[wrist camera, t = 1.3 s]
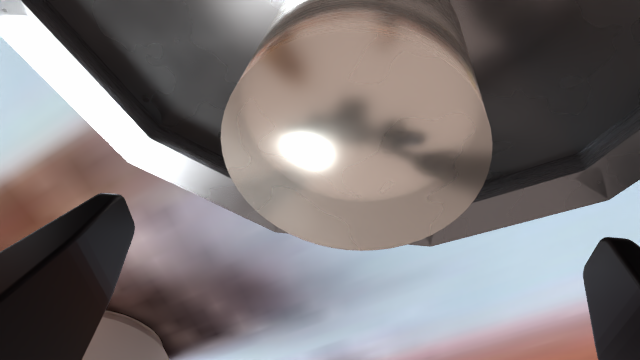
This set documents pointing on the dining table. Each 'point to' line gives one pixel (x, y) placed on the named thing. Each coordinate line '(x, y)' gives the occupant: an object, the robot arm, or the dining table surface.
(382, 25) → the cover
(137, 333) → the can
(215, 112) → the curvy grey metal tray
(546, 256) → the dining table surface
